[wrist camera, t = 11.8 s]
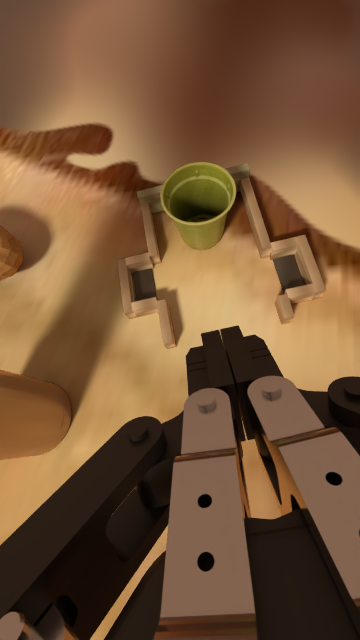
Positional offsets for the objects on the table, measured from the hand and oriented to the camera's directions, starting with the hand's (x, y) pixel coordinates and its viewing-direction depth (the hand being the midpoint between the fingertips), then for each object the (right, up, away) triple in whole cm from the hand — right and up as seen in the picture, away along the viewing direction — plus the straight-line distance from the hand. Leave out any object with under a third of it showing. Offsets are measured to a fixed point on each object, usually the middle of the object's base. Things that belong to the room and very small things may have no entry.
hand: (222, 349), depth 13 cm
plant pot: (+2, +14, +35) cm, 38 cm away
